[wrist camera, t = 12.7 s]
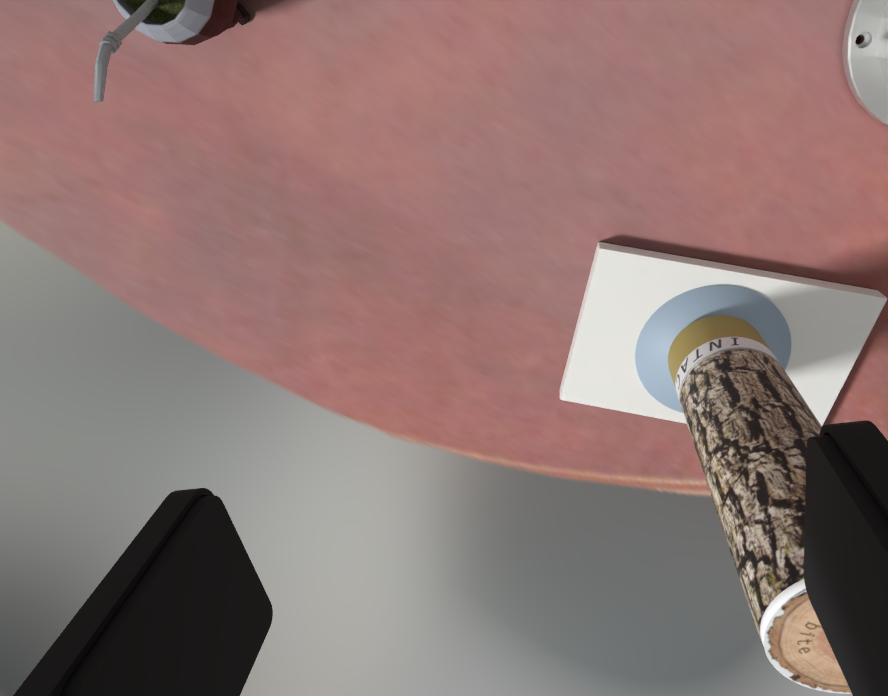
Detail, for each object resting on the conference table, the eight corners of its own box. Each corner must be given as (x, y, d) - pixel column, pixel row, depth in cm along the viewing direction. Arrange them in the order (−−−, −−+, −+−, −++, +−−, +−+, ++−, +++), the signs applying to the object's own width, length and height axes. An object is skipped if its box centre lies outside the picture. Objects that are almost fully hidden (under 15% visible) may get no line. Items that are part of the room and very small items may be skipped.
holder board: (877, 290, 46) (888, 299, 44) (804, 436, 52) (812, 448, 50) (598, 241, 47) (599, 249, 45) (559, 389, 53) (560, 400, 52)
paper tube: (783, 340, 47) (992, 630, 25) (720, 406, 50) (856, 715, 28) (706, 294, 46) (851, 550, 24) (647, 364, 49) (727, 647, 27)
